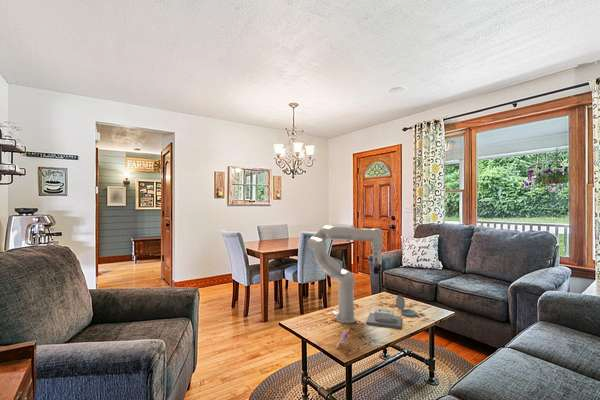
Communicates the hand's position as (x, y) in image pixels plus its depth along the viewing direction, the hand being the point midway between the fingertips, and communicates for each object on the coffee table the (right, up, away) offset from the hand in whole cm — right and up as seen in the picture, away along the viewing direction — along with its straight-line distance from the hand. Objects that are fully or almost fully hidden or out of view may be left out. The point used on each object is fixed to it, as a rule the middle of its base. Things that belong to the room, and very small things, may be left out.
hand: (377, 272), depth 195 cm
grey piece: (+1, -28, -12) cm, 31 cm away
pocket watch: (+21, -28, -1) cm, 35 cm away
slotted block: (+1, -27, -12) cm, 29 cm away
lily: (-29, -28, -43) cm, 59 cm away
